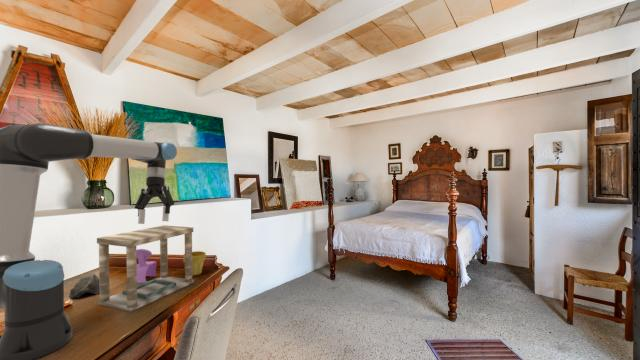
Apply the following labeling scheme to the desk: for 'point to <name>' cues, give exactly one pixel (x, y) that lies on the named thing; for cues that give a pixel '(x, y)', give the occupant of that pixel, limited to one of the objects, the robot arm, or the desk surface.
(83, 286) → the fossil
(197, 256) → the plant pot
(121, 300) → the canopy shelf
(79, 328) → the desk surface
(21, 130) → the robot arm
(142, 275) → the toy chair
